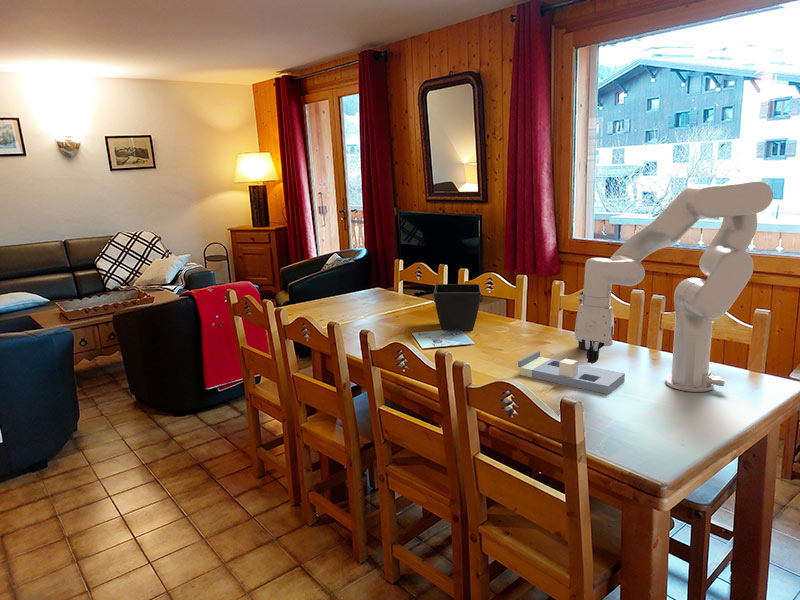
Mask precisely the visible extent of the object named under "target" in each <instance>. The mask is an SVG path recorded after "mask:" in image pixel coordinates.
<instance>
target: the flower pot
mask: <svg viewBox="0 0 800 600" xmlns="http://www.w3.org/2000/svg"><path fill="white" fill-rule="evenodd" d="M480 286H481V285H480V284H478V283H477V284H475V283H469V284H468V283H455V284H454V283H449V284H448V283H441V284H439V283H437V284H435V285H434V290H433V299H434V305H435V310H436V314H437V318H438V322H439V325H440V328H441V330H442V331H473V330H474V327H475V325H476V321H477V318H478V313H479V309H480V303H481V298H482V297H481V295H482V290H481V287H480Z"/></svg>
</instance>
